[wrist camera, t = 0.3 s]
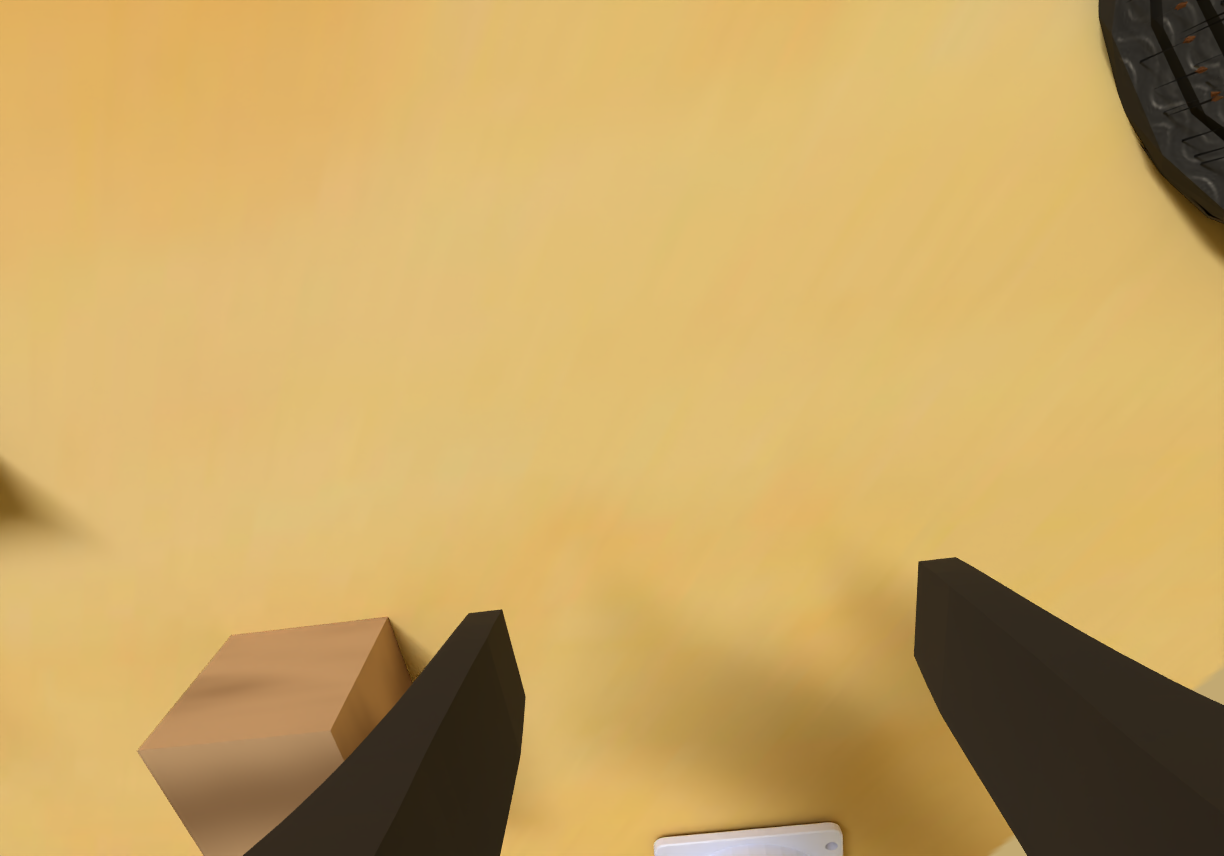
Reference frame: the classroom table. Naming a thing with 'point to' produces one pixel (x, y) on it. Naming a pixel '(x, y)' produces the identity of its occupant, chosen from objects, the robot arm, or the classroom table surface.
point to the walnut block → (271, 726)
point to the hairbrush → (1173, 88)
